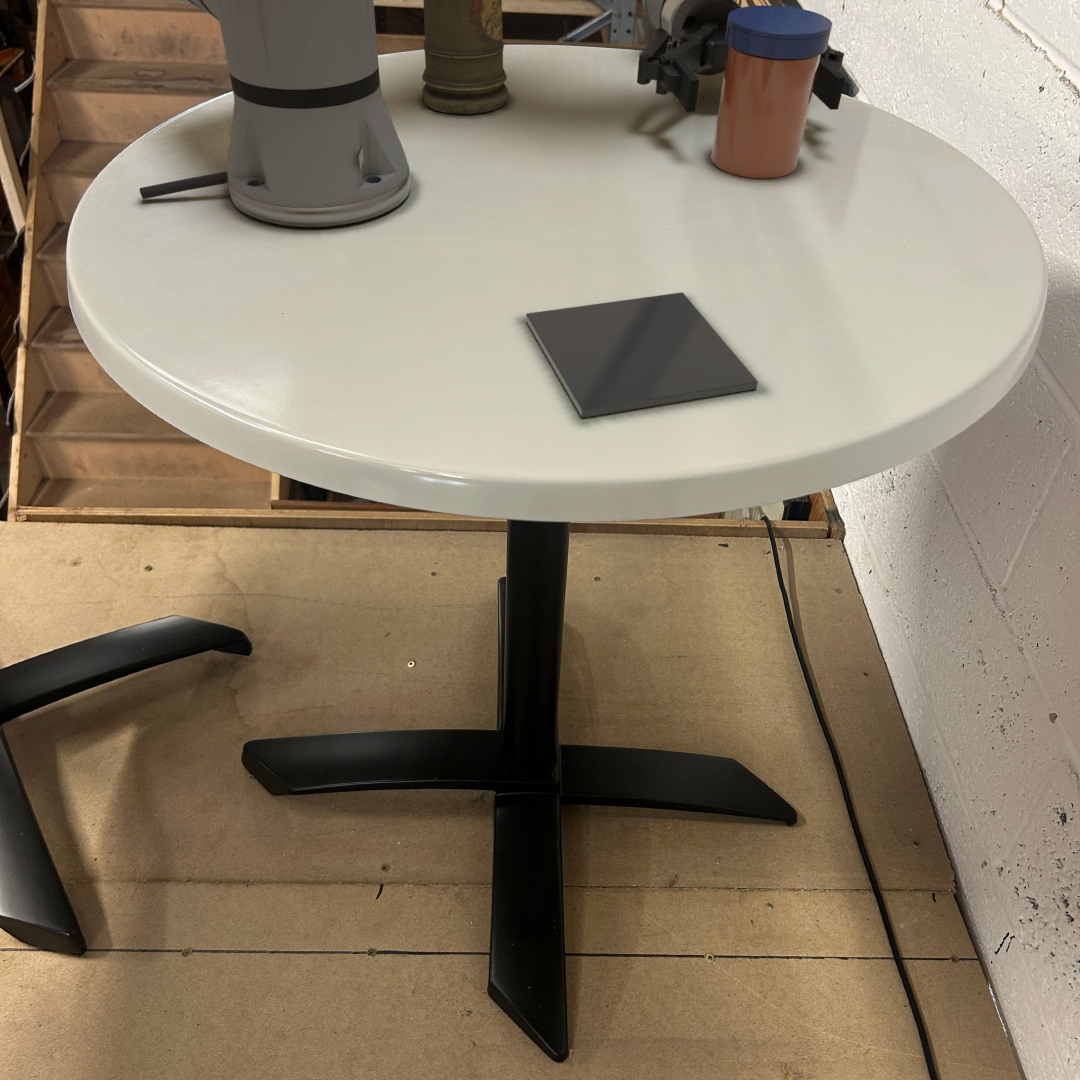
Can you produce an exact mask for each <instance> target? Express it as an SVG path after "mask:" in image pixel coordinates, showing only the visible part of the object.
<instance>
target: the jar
mask: <svg viewBox="0 0 1080 1080" xmlns="http://www.w3.org/2000/svg"><path fill="white" fill-rule="evenodd" d="M820 56H821V54H820V55H818V56H814V57H809V58H801V59H777V58H768V57H761V56H756V55H751V54H747V53H744V52H741V51H738V50H736V49H734V48H732V47H730V46H729V45H728V51H727V57H726V64H725V70H724V71H723V76H722V83H721V91H720V97H719V104H718V110H717V116H716V123H715V130H714V135H713V142H712V147H711V148H712V149H711V155H710V159H711V162H712V164H713V165H714V166H715V167H717V168H718V169H720V170H722V171H724V172H726V173H729V174H732V175H735V176H738V177H739V176H740V177H743V178H752V179H775V178H781V177H784V176H788V175H790V174H791V173H793V172H794V171H795V170H796V167H797V165H798V160H799V156H800V151H801V148H802V142H803V138H804V133H805V128H806V124H807V119H808V115H809V111H810V106H811V101H812V97H813V88H814V83H815V79H816V74H817V70H818V65H819V60H820Z"/></svg>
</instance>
